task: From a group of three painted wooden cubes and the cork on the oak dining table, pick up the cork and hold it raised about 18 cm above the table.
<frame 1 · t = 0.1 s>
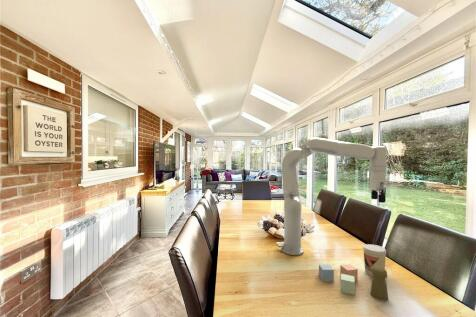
hand: (378, 200, 122), 31 cm above the table, fingers open, 9 cm apart
sage cube: (347, 289, 93), on the table
slate cube: (326, 277, 102), on the table
coffee cup: (374, 273, 106), on the table
terracotta cube: (348, 278, 102), on the table
cork: (379, 296, 89), on the table
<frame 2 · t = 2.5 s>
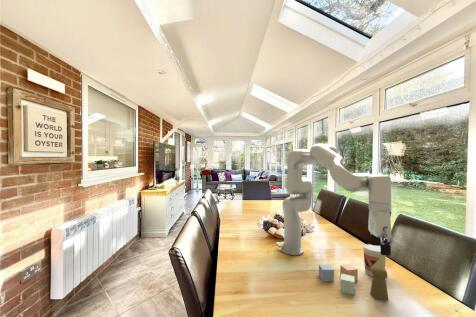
hand: (380, 249, 88), 18 cm above the table, fingers open, 9 cm apart
nothing on the table moved.
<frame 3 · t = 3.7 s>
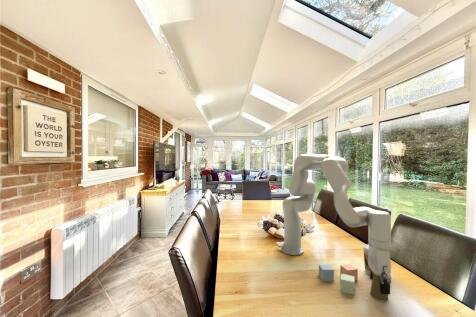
hand: (379, 286, 89), 4 cm above the table, fingers open, 9 cm apart
nothing on the table moved.
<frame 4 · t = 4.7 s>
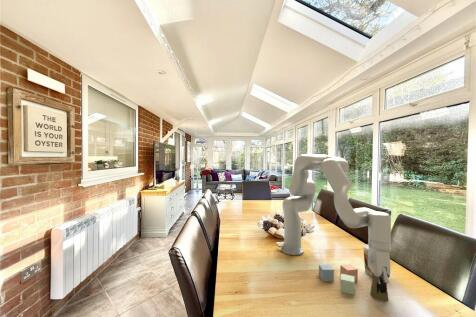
hand: (379, 290, 89), 2 cm above the table, fingers closed on cork, 3 cm apart
cork: (379, 296, 89), on the table, touching gripper
everything else where it was.
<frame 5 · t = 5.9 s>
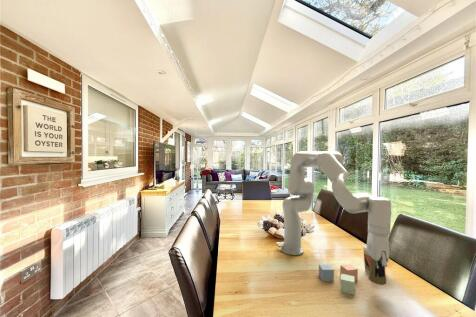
hand: (377, 274, 89), 8 cm above the table, fingers closed on cork, 3 cm apart
cork: (377, 280, 89), point 6 cm above the table, touching gripper
everything else where it was.
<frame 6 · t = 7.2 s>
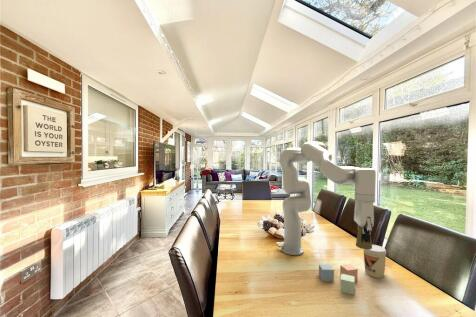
hand: (363, 240, 94), 20 cm above the table, fingers closed on cork, 3 cm apart
cork: (363, 246, 94), point 17 cm above the table, touching gripper
everything else where it was.
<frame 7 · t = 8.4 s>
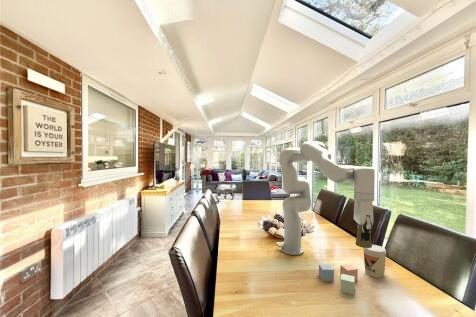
hand: (363, 239, 94), 20 cm above the table, fingers closed on cork, 3 cm apart
cork: (363, 245, 94), point 18 cm above the table, touching gripper
everything else where it was.
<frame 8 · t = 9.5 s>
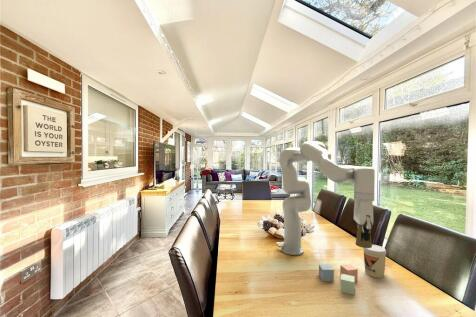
hand: (363, 239, 94), 20 cm above the table, fingers closed on cork, 3 cm apart
cork: (363, 245, 94), point 18 cm above the table, touching gripper
everything else where it was.
at the end: the gripper is holding cork; cork point 17.5 cm above the table; sage cube moved 0.1 cm from its start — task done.
